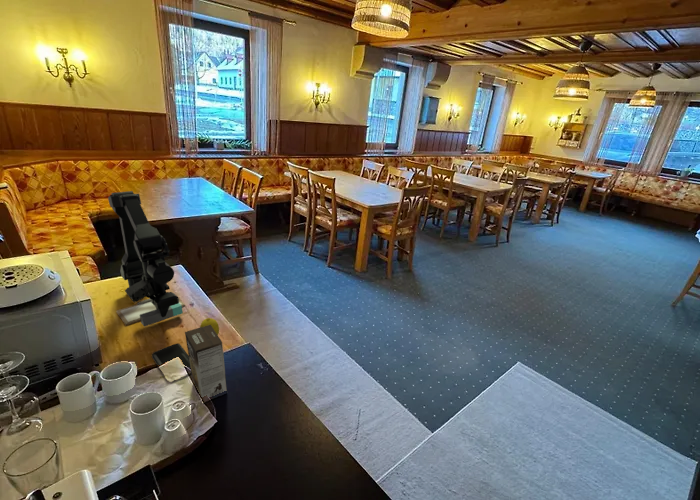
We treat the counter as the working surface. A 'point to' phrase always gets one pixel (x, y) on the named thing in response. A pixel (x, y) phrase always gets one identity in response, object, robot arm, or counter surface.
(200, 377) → the coffee box
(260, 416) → the counter surface
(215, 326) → the lemon
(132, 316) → the cream flat piece
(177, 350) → the phone
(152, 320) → the dark gray rectangular block
